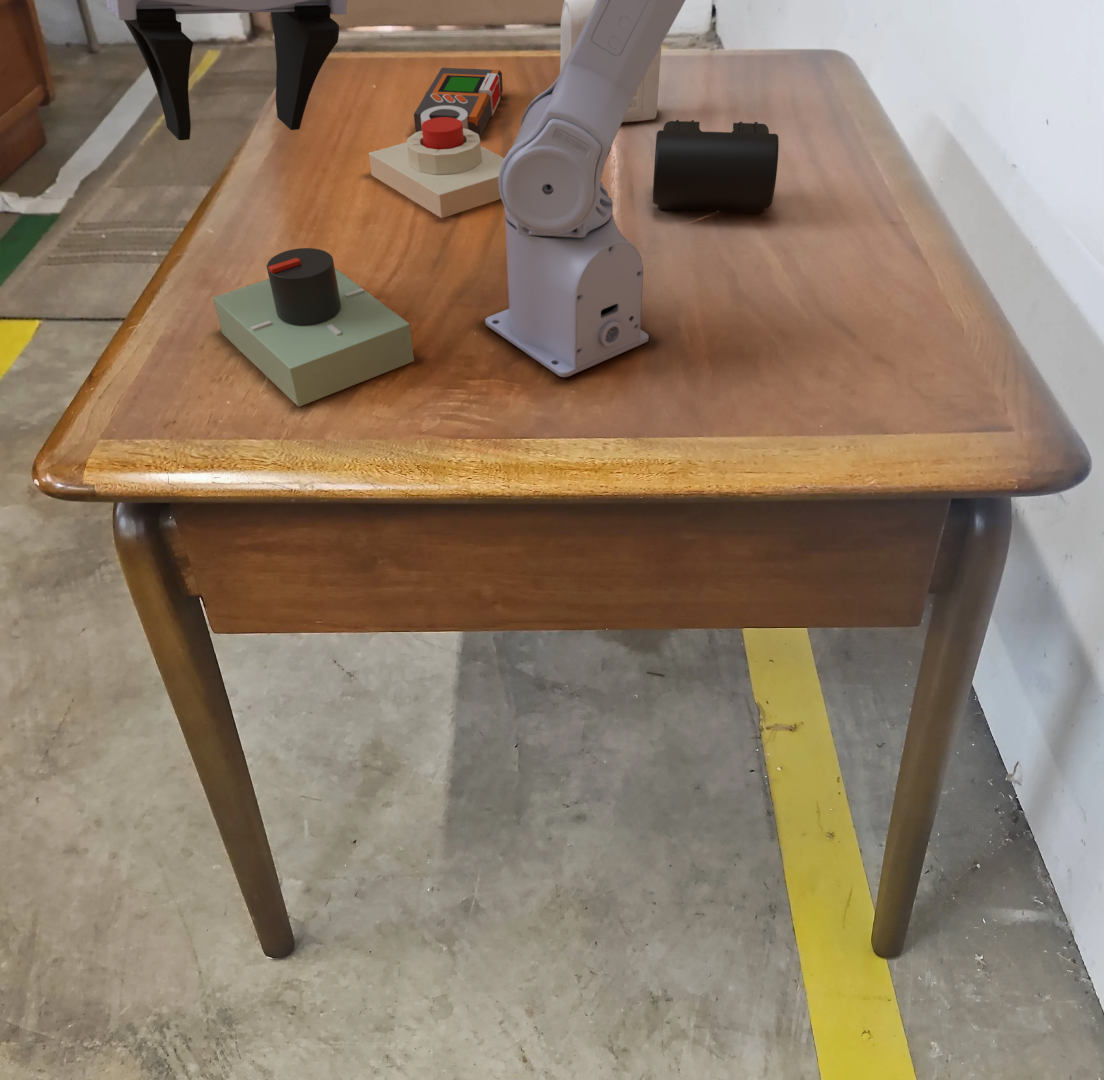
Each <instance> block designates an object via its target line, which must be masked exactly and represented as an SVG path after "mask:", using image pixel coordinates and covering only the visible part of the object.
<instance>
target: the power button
mask: <svg viewBox="0 0 1104 1080" xmlns="http://www.w3.org/2000/svg"><path fill="white" fill-rule="evenodd" d="M422 134H423V144H424V146H425V147H426V148H430V149H437V150H441V149H452V148H455V147H459V146H462V145H463V144H464V138H463V124H462V122H461V121H460V120H458V119H455V118H450V117H438V118H433V119H429V120H427V121H425V122H424V123H423V124H422Z"/></svg>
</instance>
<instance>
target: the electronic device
mask: <svg viewBox="0 0 1104 1080" xmlns="http://www.w3.org/2000/svg"><path fill="white" fill-rule="evenodd" d="M503 91H504V88H503V72H501V70H500V69H485V68H484V69H483V68H462V67H459V68H458V67H441V68H440V70H439V71H438V73H437V74H436V76H435V78H434V80H433V81H432V83H431V85H430V87H429V88H428V89H427V91H426V93H425V95H424V96H423V98H422V100H421V101H420V102H419V105H418V106H417V108H416V110H415V111H414V113H413V119H414V128H415V133H416V132H419V131H422V124H423V123H424V122H425V121H427V120H429V119H433V118H438V117H450V118H455V119H458V120H460V121H461V122H462V124H463V129H469V130H471V131H473V132H475V133H477V134H479V138H480V139H481V137H482V135H483V133H484V132H485V130H486V128H487V125H488V123H489V122H490V120H491V118H492V117H494V114H495V112H496V110H497V108H498V106H499V104H500V101H501V96H502V94H503Z"/></svg>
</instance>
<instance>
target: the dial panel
mask: <svg viewBox="0 0 1104 1080" xmlns="http://www.w3.org/2000/svg"><path fill="white" fill-rule="evenodd" d="M335 273H336V279H337V285H338V291H339V297H340V303H341V308H340V311H339V312H338V313H337V315H335V316H334V317H333V318H331V319H329V320H327V321H324V322H321V323H318V324H313V325H294V324H289V323H286V322H284V321H282V320H281V319H280V318H279V317H278V316H277V312H276V308H275V303H274V298H273V294H272V289H271V284H270V280H269V278H267V279H265V280H261V281H257V282H255V283H253V284H249V285H246V286H243V287H240V288H237V289H234V290H231V291H228V292H225V293H222V294H219V295H216V296H213V297H212V298H213V300H212V301H213V304H214V307H215V311H216V315H217V319H218V323H219V327H220V330H221V334H222V335H223V336H224V337H225V338H226V339H227V340H228V341H229V342H230V343H231V344H232V345H233V346H234V347H235V348H236V349H237V350H238V351H239V352H241V353H242V355H244V357H246V358H247V359H248V360H249V361H250V362H251V363H252V364H253V365H254V366H255V367H256V368H257V369H258V370H259V371H260V372H261V373H262V374H263V375H264V376H265V377H267V378H268V380H270V382H272V383H273V384H274V385H275V386H276V387H277V388H278V389H279V390H280V391H281V392H282V393H283V394H284V395H285V396H286V397H288V399H289V400H290V401H292V403H294V404H295V405H296V406H297V407H303V406H305V405H307V404H310V403H312V402H315V401H318V400H320V399H322V398H326V397H327V396H330V395H333V394H336V393H339V392H341V391H343V390H345V389H349V388H350V387H353V386H355V385H358V384H360V383H363V382H366V381H368V380H371V379H373V378H375V377H378V376H381V375H384V374H386V373H388V372H391V371H394V370H396V369H398V368H401V367H403V366H406V365H408V364H411V363H414V362H415V356H414V349H413V339H412V329H411V324H410V323H409V322H408V321H406V320H405V319H404V318H403V317H401V316H400V315H399V314H397V313H396V312H395V311H393V310H392V309H391V308H390V307H388V306H387V305H386V304H384V303H383V302H382V301H380V300H379V299H378V298H376V297H375V296H373V295H372V294H371V293H369V292H368V291H367V290H366V289H364V288H363V287H361V286H360V285H359V284H357V282H355V281H353V280H352V279H351V278H350V277H348V276H347V275H345V274H344V273H343V272H342V271H340V269H338V268H337V267H335Z"/></svg>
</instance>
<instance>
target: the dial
mask: <svg viewBox="0 0 1104 1080" xmlns="http://www.w3.org/2000/svg"><path fill="white" fill-rule="evenodd" d="M334 261H335V260H334V258H333V256H332V255H331V254H330V252H328V251H325V250H322V249H319V248H313V247H300V248H292V249H289V250H288V249H287V250H285V251H283V252H280V253H278V254H276V255H274V256H273V257H271V258H270V259H269V260H268V262H267V263H266V270H267V274H268V279H269V280H270V284H271V289H272V294H273V298H274V303H275V308H276V312H277V316H278V317H279V318H280V319H281V320H282V321H284V322H286V323H289V324H294V325H313V324H318V323H321V322H324V321H327V320H329V319H331V318H333V317H334V316H335V315H337V313H338V312H339V311H340V308H341V303H340V297H339V291H338V285H337V279H336V273H335V268H336V267H335V262H334Z"/></svg>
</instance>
